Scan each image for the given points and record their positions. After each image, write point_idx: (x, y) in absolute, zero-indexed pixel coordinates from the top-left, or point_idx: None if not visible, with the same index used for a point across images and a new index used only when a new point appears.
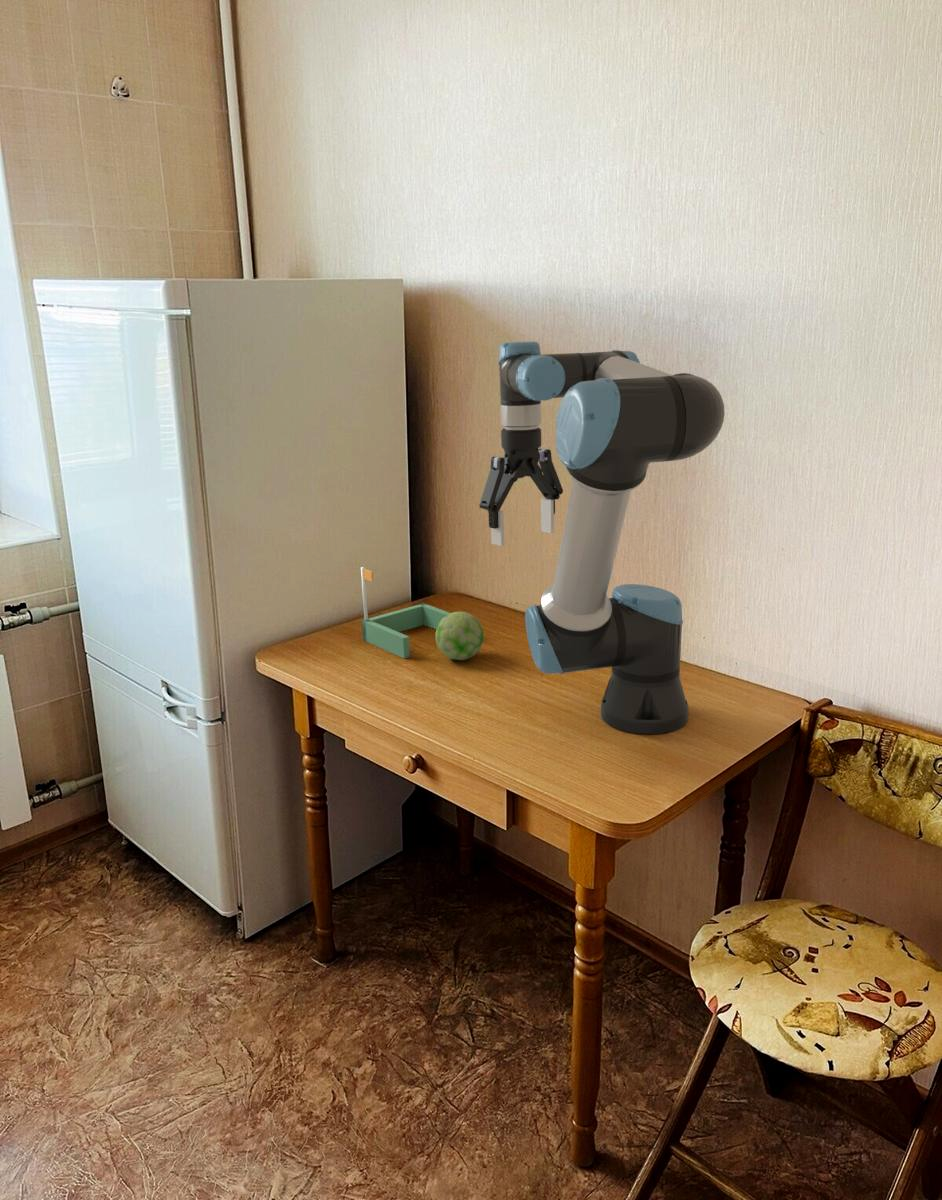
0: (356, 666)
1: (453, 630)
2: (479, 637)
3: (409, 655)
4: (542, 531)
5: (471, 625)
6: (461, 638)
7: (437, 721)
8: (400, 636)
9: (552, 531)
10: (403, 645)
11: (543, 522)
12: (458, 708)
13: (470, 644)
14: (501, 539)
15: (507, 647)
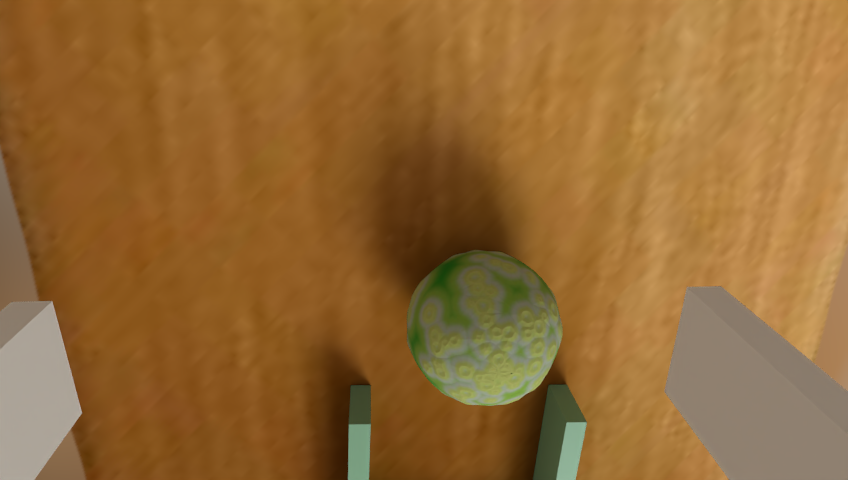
0: (671, 418)
1: (552, 313)
2: (468, 263)
3: (551, 387)
4: (78, 400)
5: (497, 296)
6: (536, 279)
7: (837, 6)
8: (580, 436)
9: (23, 309)
10: (579, 408)
11: (25, 452)
12: (740, 29)
13: (505, 257)
14: (749, 316)
15: (312, 264)
